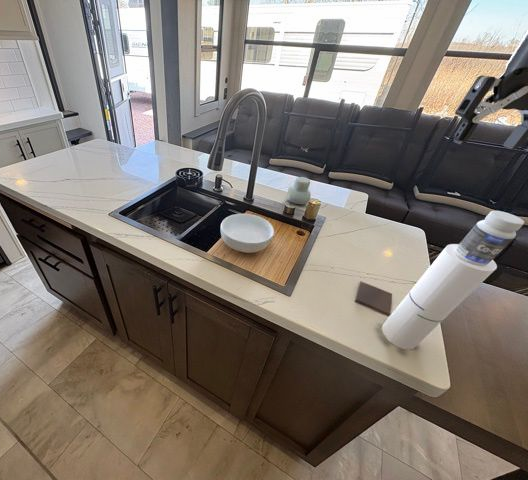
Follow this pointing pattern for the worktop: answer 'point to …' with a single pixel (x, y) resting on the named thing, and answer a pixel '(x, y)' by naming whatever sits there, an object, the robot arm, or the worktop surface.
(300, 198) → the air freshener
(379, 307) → the plate
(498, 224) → the pill bottle
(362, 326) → the worktop surface
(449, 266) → the cylindrical container
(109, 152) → the worktop surface
